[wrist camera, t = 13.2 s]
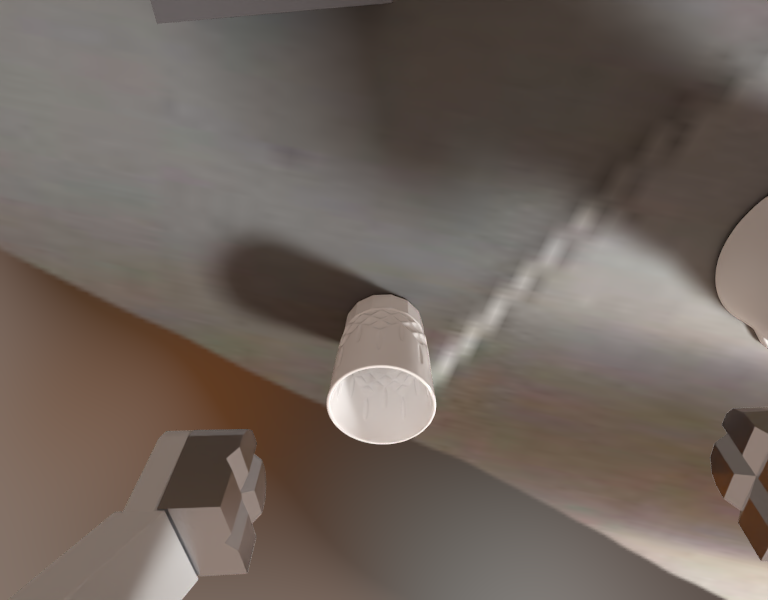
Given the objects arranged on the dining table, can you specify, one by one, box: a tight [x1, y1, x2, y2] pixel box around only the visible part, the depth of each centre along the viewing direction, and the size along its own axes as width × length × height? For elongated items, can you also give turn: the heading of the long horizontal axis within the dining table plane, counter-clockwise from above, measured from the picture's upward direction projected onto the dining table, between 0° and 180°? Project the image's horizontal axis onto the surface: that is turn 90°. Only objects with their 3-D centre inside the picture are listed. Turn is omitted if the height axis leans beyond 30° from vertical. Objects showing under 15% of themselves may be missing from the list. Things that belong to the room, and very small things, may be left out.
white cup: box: [327, 294, 436, 444], centre depth 42 cm, size 8×8×10 cm
